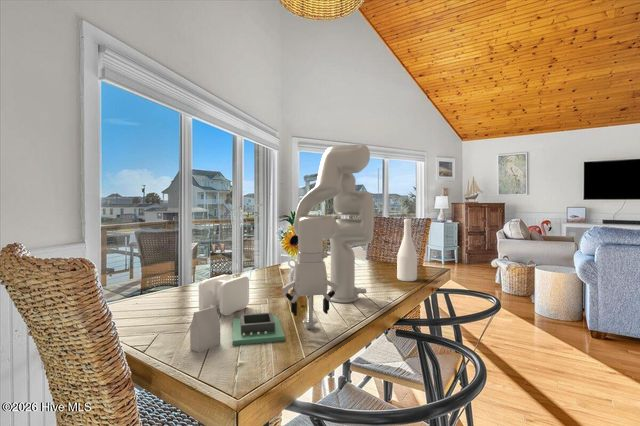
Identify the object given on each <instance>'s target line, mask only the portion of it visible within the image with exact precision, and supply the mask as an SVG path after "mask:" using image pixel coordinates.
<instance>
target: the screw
mask: <svg viewBox="0 0 640 426" xmlns="http://www.w3.org/2000/svg"><path fill="white" fill-rule="evenodd" d="M318 323H319V320H318V319H317V318H315V317H314V296H307V317H305V318H303V320H302V324H304V325H305V328H306V329H307V330H312V329H315V328H316V324H318Z"/></svg>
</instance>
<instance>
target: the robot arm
mask: <svg viewBox="0 0 640 426" xmlns="http://www.w3.org/2000/svg"><path fill="white" fill-rule="evenodd" d="M324 151H325V152H324V153H323V154H322V156H321V159H320V164H319V167H318V172H317V173H318V174H317V178H316V181H315V182H316V183H315V186H314V187H313V188H311V190H309V191H308V192H307V193H305V195H304V196H303V197H302V199H300V201H299V202H298V205H297V207H296V210H295V214H294V215H295V216H294V221H293V231H294V234H295V235H296V236H297V244H298V245H297V255H298V256H297V261H295V263H294V267H293V268H294V269H293V276H292V277H293V278H292V279H293V280H292V281H291V282H289V283H287V284H286V285H284V286H283V287H281V290H282V292H283V294H284V296H285V298H286V299H288V300H289V301H290V312H291V313H292V314H293V316H294V317H297V316H298V303H297V300H298V299H299V298H300V297H308V296H313V297H314V296H323V299H322V312H323V313H324V314H325V315H328V311H329V310H330V302H333V303H340V304H341V303H342V304H343V303H344V304H346V303H348V304H349V303H353V302H356V301H358V300H359V295H360V294H367V288H365V287H364V288H362V287H356V286H355V285H356V284H355V283H356V282H355V280H356V276H355V274H356V272H355V271H356V270H355V266H356V265H355V264H356V262H355V261H356V255H355V254H356V253H355V251H354V250H353V248H352V246H351V244H355V245H356V244H357V245H368V244H371V243H372V241H373V239H374V224H375V219H374V218H375V202H374V197H373V194H372V193H371V192H370V191H361V190H360V191H359V190H358V191H356V177H355V175H354V174H359V173H360V172H362V171H363V170H364V169H365V168H366V167H367V166H368V165H369V163H370V158H371V152H370V148H369V147H368V146H367V145H366V144H359V143H358V144H343V145H342V144H341V145H339V144H338V145H332V146H329V147H327V148H326V149H325V150H324ZM331 199H333V203H332V204H333V211H334V212H335V214H336V215H340V216H355V217H358V216H359V217H360V219H359V218H358V219H357V218H355V219H353V218H337V219H336V218H334V216H330V215H319V214H313V215H311V214H310V212H311V211H312V210H313V209H314V208H316V206H318V205H320V204H322V203H324V202H326V201H329V200H331ZM324 240H329V245H330V280H328V275H327V274H328V273H327V266H326V262H325V261H324V260H325V259H327V258H328V253H325V252H324ZM328 286H329V287H330V291H329V292H328ZM290 289H292V291H293V293H292V294H290V292H289V290H290Z"/></svg>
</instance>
